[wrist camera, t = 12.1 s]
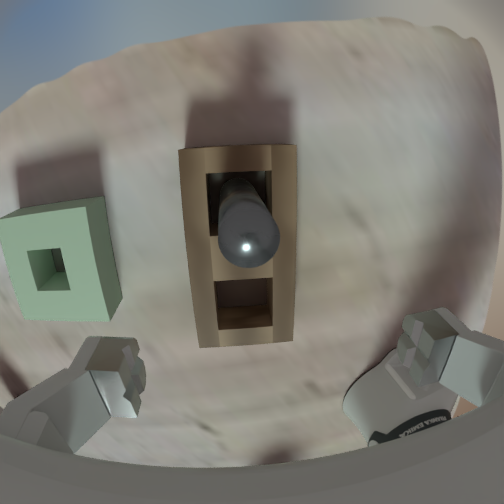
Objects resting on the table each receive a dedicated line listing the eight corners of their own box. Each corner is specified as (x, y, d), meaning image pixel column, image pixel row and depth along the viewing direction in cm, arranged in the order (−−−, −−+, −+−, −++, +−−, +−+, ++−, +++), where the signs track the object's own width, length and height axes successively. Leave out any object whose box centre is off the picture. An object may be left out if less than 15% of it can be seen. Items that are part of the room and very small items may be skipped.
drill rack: (286, 143, 30) (296, 144, 25) (285, 318, 37) (292, 340, 33) (184, 148, 29) (178, 149, 25) (201, 324, 36) (199, 347, 32)
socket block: (104, 196, 30) (85, 206, 25) (122, 298, 34) (110, 321, 29) (19, 208, 29) (-4, 220, 24) (42, 299, 33) (24, 319, 28)
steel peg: (254, 177, 31) (279, 207, 18) (256, 212, 32) (280, 265, 19) (218, 179, 30) (215, 210, 17) (220, 214, 32) (220, 269, 19)
